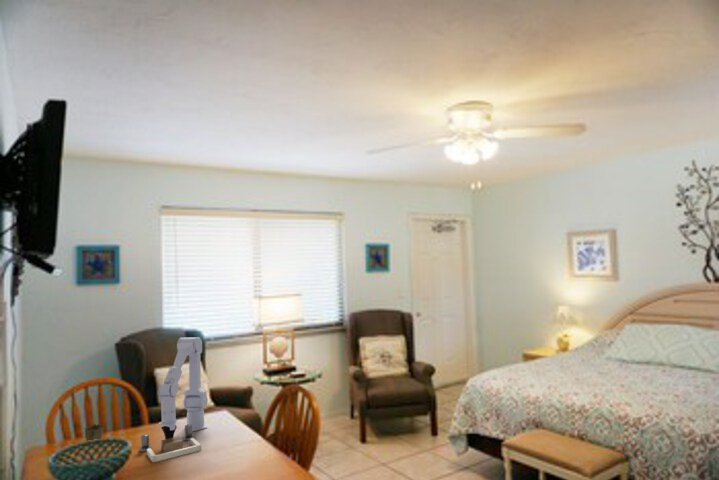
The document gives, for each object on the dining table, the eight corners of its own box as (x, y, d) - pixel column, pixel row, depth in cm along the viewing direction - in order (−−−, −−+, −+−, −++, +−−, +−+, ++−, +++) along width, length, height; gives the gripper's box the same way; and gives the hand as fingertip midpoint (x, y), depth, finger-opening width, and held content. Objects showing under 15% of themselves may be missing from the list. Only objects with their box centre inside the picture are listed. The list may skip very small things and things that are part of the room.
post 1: (138, 449, 203) (137, 435, 203) (150, 446, 205) (150, 432, 206) (140, 452, 198) (139, 438, 199) (152, 449, 201) (152, 435, 202)
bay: (146, 454, 197) (146, 449, 197) (193, 442, 208) (193, 437, 208) (152, 462, 187) (152, 457, 187) (201, 450, 198) (201, 445, 198)
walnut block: (161, 449, 201) (161, 440, 201) (178, 445, 205) (178, 436, 205) (165, 454, 195) (165, 444, 196) (182, 450, 199) (182, 440, 200)
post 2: (181, 439, 213) (181, 425, 213) (192, 436, 216) (192, 422, 216) (184, 442, 209) (184, 428, 209) (196, 439, 212) (195, 425, 212)
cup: (80, 447, 209) (80, 428, 209) (94, 441, 216) (94, 423, 216) (94, 448, 207) (93, 429, 207) (107, 442, 214) (107, 424, 214)
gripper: (155, 409, 209) (155, 440, 208) (162, 416, 197) (163, 450, 196) (171, 406, 213) (172, 436, 212) (180, 413, 201) (180, 445, 200)
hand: (169, 443), depth 204 cm, fingers closed
